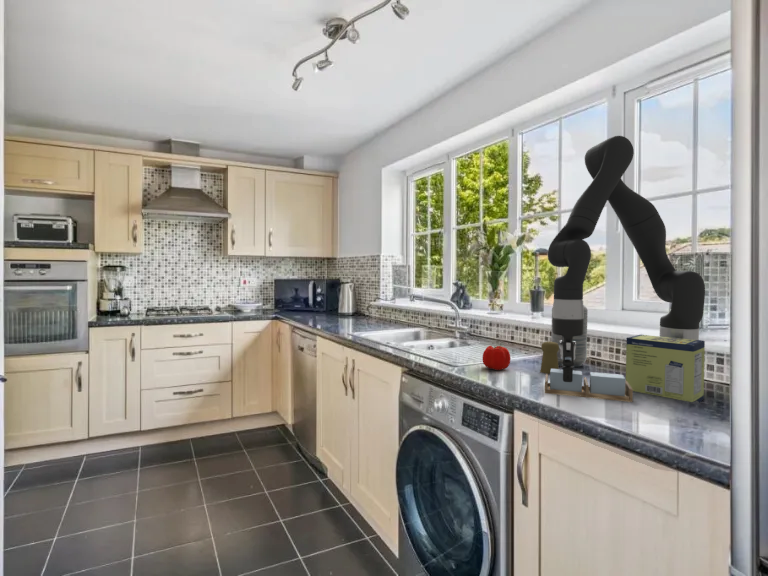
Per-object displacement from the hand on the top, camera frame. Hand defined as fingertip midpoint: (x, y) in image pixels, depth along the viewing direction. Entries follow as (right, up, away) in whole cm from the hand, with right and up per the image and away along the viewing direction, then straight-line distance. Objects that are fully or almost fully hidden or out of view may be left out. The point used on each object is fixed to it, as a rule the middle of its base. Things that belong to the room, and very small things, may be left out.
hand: (567, 378), depth 113 cm
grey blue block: (0, -3, 0) cm, 3 cm away
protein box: (+25, -5, 0) cm, 26 cm away
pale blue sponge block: (+9, -4, -3) cm, 10 cm away
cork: (+4, -4, +22) cm, 23 cm away
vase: (+18, -4, +41) cm, 44 cm away
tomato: (-10, -4, +33) cm, 35 cm away
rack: (+4, -5, -1) cm, 7 cm away
